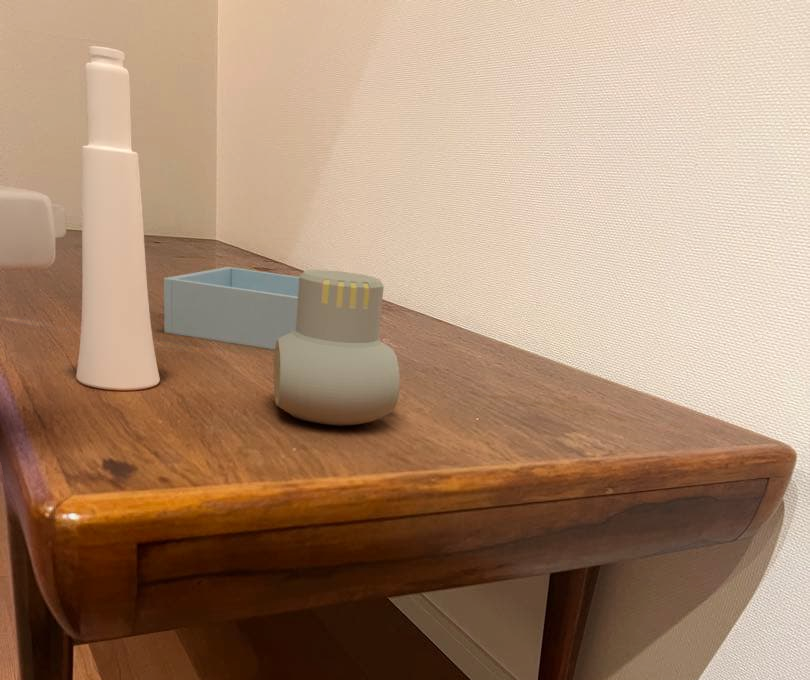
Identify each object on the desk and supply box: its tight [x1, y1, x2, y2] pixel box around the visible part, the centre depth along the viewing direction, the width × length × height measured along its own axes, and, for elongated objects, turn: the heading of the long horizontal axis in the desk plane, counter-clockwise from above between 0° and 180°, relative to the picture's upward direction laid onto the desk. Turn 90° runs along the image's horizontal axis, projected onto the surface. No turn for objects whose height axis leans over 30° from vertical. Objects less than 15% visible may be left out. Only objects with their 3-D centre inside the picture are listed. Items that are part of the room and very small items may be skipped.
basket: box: [163, 266, 299, 350], centre depth 81 cm, size 16×16×6 cm
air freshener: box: [273, 269, 401, 427], centre depth 56 cm, size 11×8×10 cm
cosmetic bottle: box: [75, 45, 161, 391], centre depth 56 cm, size 6×6×22 cm
